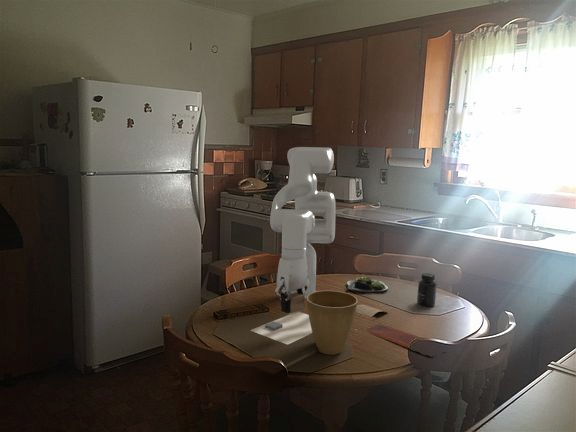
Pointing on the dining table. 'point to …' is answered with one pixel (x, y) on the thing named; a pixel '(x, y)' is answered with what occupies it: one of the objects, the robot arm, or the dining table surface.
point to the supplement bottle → (427, 290)
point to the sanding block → (296, 303)
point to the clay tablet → (367, 310)
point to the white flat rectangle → (288, 328)
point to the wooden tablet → (392, 335)
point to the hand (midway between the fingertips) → (292, 309)
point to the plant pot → (331, 319)
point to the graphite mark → (273, 326)
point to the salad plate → (366, 285)
